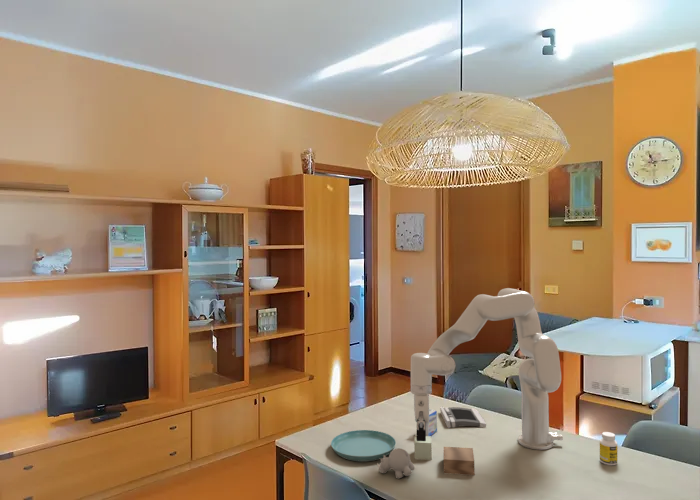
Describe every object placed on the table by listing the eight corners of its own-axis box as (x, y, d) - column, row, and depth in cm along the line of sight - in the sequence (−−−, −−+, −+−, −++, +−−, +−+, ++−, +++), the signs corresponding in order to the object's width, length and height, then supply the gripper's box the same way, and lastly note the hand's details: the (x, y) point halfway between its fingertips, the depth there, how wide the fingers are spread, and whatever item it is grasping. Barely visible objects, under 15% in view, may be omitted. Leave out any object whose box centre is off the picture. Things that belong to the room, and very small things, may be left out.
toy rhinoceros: (387, 475, 171) (377, 450, 172) (417, 467, 166) (408, 442, 167) (379, 484, 164) (369, 459, 165) (411, 477, 159) (401, 451, 161)
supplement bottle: (610, 467, 166) (610, 438, 166) (596, 461, 171) (596, 433, 171) (621, 463, 169) (620, 435, 169) (606, 457, 174) (606, 429, 173)
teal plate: (409, 448, 186) (408, 440, 186) (366, 472, 168) (366, 462, 168) (361, 432, 202) (360, 424, 202) (317, 452, 185) (317, 443, 184)
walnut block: (473, 462, 173) (472, 448, 173) (474, 476, 164) (474, 461, 163) (443, 460, 175) (443, 446, 175) (443, 474, 165) (443, 459, 165)
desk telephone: (440, 406, 221) (476, 402, 221) (441, 416, 221) (477, 413, 221) (447, 421, 204) (486, 417, 203) (448, 432, 204) (487, 428, 204)
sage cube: (431, 452, 182) (431, 436, 181) (431, 459, 176) (431, 443, 175) (414, 451, 182) (414, 435, 182) (414, 459, 176) (414, 442, 176)
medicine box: (428, 438, 194) (427, 416, 194) (418, 435, 197) (417, 414, 196) (437, 431, 200) (437, 410, 200) (427, 429, 203) (427, 408, 203)
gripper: (432, 396, 169) (432, 445, 170) (431, 381, 186) (431, 426, 187) (410, 395, 170) (410, 444, 171) (411, 380, 187) (411, 425, 188)
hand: (421, 435), depth 179 cm, fingers open, 9 cm apart
